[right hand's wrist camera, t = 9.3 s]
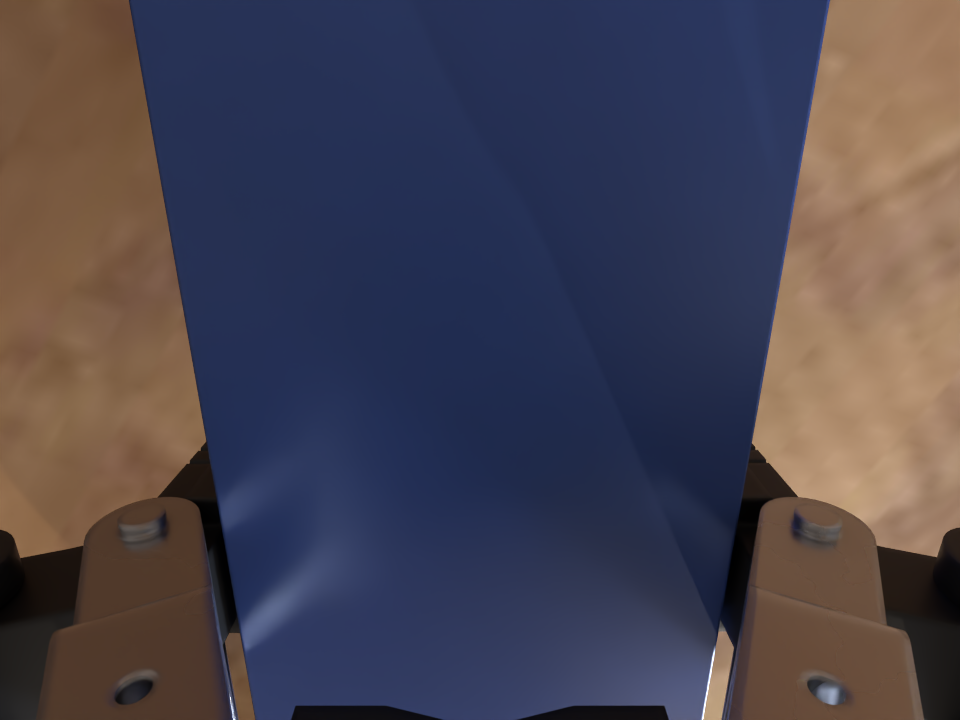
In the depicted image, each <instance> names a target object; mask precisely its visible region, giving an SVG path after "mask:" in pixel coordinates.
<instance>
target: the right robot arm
mask: <svg viewBox="0 0 960 720" xmlns="http://www.w3.org/2000/svg"><path fill="white" fill-rule="evenodd" d="M719 631H726V632H727V634H728V636H729V638H730V640H731V642H732V644H733V646H734V651H733V656H732V661H731V667H730V673H729V678H728V684H727V690H726V696H725V702H724V708H723V714H722V720H960V528H955V529H952V530H950V531H948V532H947V533H946V534H945V536H944V537H943V540H942V544H941V547H940V550H939V553H938V556H937V557H932V556H927V555H922V554H916V553H911V552H906V551H901V550H895V549H890V548H885V547H880V546H876V540H875V536H874V534H873V533H872V531H871V530H870V529H869V527H868V526H867V525H866V524H865V523H863V522H862V521H861V520H860V519H858V518H857V517H855V516H854V515H852V514H851V513H849V512H847V511H845V510H843V509H841V508H839V507H836V506H834V505H831V504H828V503H825V502H822V501H818V500H813V499H808V498H801V497H798V496H797V495H796V494H795V493H794V492H793V490H792V489H791V488H790V487H789V486H788V485H787V483H786V482H785V481H784V480H783V479H782V478H781V477H780V475H779V474H778V473H777V472H776V471H775V470H774V468H773V467H772V466H771V465H770V464H769V463H766V459H765V458H764V457H763V456H762V454H761V453H760V452H759V451H758V450H755V446H754V445H753V444H751V450H750V455H749V461H748V467H747V472H746V478H745V484H744V489H743V495H742V501H741V506H740V512H739V518H738V523H737V529H736V535H735V540H734V546H733V552H732V557H731V563H730V569H729V574H728V580H727V586H726V591H725V597H724V603H723V608H722V614H721V620H720V625H719ZM229 633H240V629H239V623H238V617H237V612H236V606H235V600H234V595H233V589H232V583H231V578H230V572H229V566H228V560H227V555H226V549H225V543H224V538H223V532H222V526H221V521H220V515H219V509H218V504H217V498H216V492H215V487H214V481H213V475H212V469H211V464H210V458H209V452H208V447H207V442H206V443H205V444H204V445H203V446H202V447H201V451H198V452H197V453H196V454H195V455H194V456H193V458H192V459H191V460H190V464H186V466H185V467H184V468H183V469H182V470H181V471H180V472H179V474H178V475H177V476H176V477H175V478H174V479H173V480H172V482H171V483H170V484H169V485H168V486H167V487H166V488H165V490H164V491H163V492H162V493H161V494H160V495H159V497H158V498H152V499H147V500H142V501H138V502H135V503H132V504H129V505H126V506H124V507H121V508H119V509H117V510H115V511H113V512H111V513H109V514H108V515H106V516H105V517H103V518H102V519H100V520H99V521H98V522H97V523H95V524H94V525H93V526H92V527H91V529H90V530H89V531H88V533H87V534H86V536H85V540H84V546H80V547H76V548H71V549H66V550H61V551H56V552H51V553H45V554H40V555H35V556H30V557H24V558H20V556H19V553H18V550H17V547H16V544H15V540H14V538H13V537H12V535H11V534H9V533H8V532H6V531H3V530H0V720H238V714H237V708H236V702H235V696H234V690H233V684H232V678H231V672H230V667H229V661H228V656H227V650H226V645H225V640H226V638H227V636H228V634H229ZM291 720H443V719H439V718H435V717H431V716H427V715H423V714H418V713H414V712H410V711H406V710H402V709H398V708H394V707H390V706H295V709H294V712H293V715H292V718H291ZM517 720H669V718H668V715H667V712H666V709H665V706H570V707H566V708H562V709H558V710H554V711H550V712H546V713H542V714H537V715H533V716H529V717H525V718H521V719H517Z"/></svg>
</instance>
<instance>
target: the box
mask: <svg viewBox="0 0 960 720" xmlns="http://www.w3.org/2000/svg"><path fill="white" fill-rule="evenodd" d="M829 2H830V0H129V3H130V9H131V15H132V20H133V26H134V32H135V37H136V43H137V49H138V54H139V60H140V66H141V71H142V77H143V83H144V88H145V94H146V100H147V106H148V111H149V117H150V123H151V128H152V134H153V140H154V145H155V151H156V157H157V162H158V168H159V174H160V179H161V185H162V191H163V196H164V202H165V208H166V214H167V219H168V225H169V231H170V236H171V242H172V248H173V253H174V259H175V265H176V270H177V276H178V282H179V287H180V293H181V299H182V305H183V310H184V316H185V322H186V327H187V333H188V339H189V344H190V350H191V356H192V361H193V367H194V373H195V378H196V384H197V390H198V396H199V401H200V407H201V413H202V418H203V424H204V430H205V435H206V441H207V447H208V452H209V458H210V464H211V469H212V475H213V481H214V487H215V492H216V498H217V504H218V509H219V515H220V521H221V526H222V532H223V538H224V543H225V549H226V555H227V560H228V566H229V572H230V578H231V583H232V589H233V595H234V600H235V606H236V612H237V617H238V623H239V629H240V634H241V640H242V646H243V651H244V657H245V663H246V669H247V674H248V680H249V686H250V691H251V697H252V703H253V708H254V714H255V720H291V718H292V715H293V712H294V709H295V706H390V707H394V708H398V709H402V710H406V711H410V712H414V713H418V714H423V715H427V716H431V717H435V718H439V719H443V720H517V719H521V718H525V717H529V716H533V715H537V714H542V713H546V712H550V711H554V710H558V709H562V708H566V707H570V706H665V709H666V712H667V715H668V718H669V720H703V716H704V710H705V705H706V699H707V693H708V688H709V682H710V676H711V671H712V665H713V659H714V654H715V648H716V642H717V637H718V631H719V625H720V620H721V614H722V608H723V603H724V597H725V591H726V586H727V580H728V574H729V569H730V563H731V557H732V552H733V546H734V540H735V535H736V529H737V523H738V518H739V512H740V506H741V501H742V495H743V489H744V484H745V478H746V472H747V467H748V461H749V455H750V450H751V444H752V438H753V433H754V427H755V421H756V416H757V410H758V404H759V399H760V393H761V387H762V382H763V376H764V370H765V365H766V359H767V353H768V348H769V342H770V336H771V331H772V325H773V319H774V314H775V308H776V302H777V297H778V291H779V285H780V280H781V274H782V268H783V263H784V257H785V251H786V246H787V240H788V234H789V229H790V223H791V217H792V212H793V206H794V200H795V195H796V189H797V183H798V178H799V172H800V166H801V161H802V155H803V149H804V144H805V138H806V132H807V127H808V121H809V115H810V110H811V104H812V98H813V93H814V87H815V82H816V76H817V70H818V65H819V59H820V53H821V48H822V42H823V36H824V31H825V25H826V19H827V14H828V8H829Z"/></svg>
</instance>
